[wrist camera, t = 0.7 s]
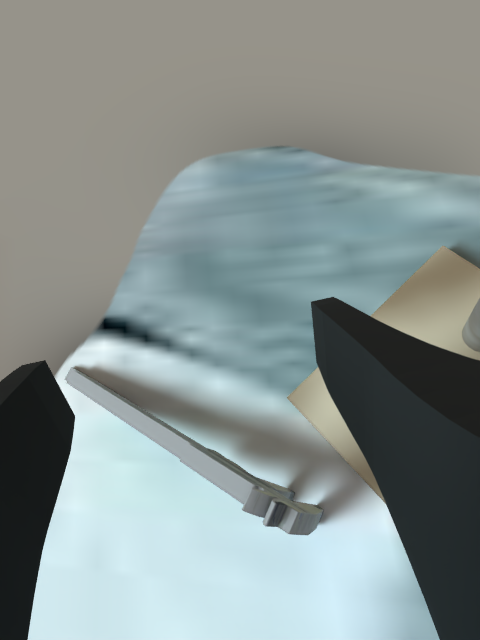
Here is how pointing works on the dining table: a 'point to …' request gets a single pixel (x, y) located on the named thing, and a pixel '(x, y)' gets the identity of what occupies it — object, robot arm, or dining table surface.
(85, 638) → the dining table surface
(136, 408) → the caliper
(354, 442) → the post board
